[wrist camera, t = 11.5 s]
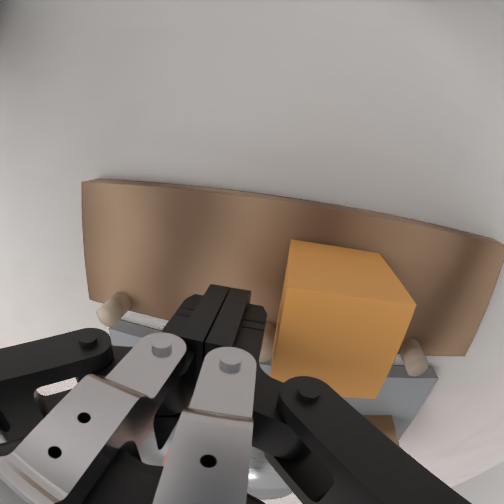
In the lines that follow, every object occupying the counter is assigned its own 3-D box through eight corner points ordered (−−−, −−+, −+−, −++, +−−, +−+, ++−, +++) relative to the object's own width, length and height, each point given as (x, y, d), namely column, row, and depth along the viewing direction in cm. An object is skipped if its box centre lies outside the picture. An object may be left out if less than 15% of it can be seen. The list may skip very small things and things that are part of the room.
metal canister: (239, 379, 16) (216, 461, 11) (305, 389, 16) (303, 474, 10) (233, 419, 18) (214, 492, 12) (292, 427, 17) (286, 502, 12)
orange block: (277, 319, 14) (267, 388, 10) (290, 239, 13) (287, 287, 8) (357, 329, 14) (375, 398, 9) (379, 253, 12) (416, 304, 8)
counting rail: (102, 290, 17) (73, 314, 14) (97, 178, 15) (59, 187, 12) (455, 344, 15) (475, 375, 12) (493, 239, 13) (526, 258, 10)
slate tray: (118, 319, 18) (109, 328, 17) (432, 366, 16) (438, 378, 15) (132, 399, 21) (126, 409, 19) (388, 439, 19) (390, 450, 17)
